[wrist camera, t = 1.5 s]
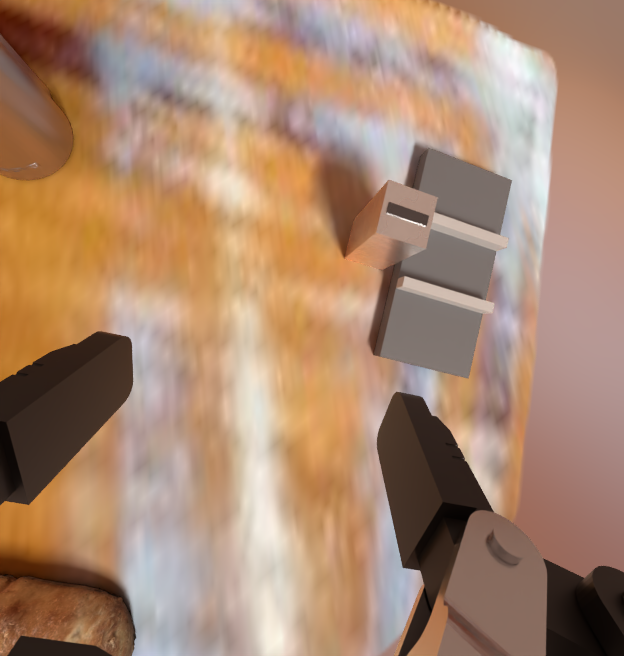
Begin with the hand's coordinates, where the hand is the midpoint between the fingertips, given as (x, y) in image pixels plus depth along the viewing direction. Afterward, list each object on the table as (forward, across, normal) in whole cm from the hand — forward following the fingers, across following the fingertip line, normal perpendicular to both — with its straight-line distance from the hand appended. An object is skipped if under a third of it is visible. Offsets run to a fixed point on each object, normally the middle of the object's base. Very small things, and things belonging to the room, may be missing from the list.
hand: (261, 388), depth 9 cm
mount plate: (+32, -18, 0) cm, 36 cm away
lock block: (+31, -8, -1) cm, 32 cm away
